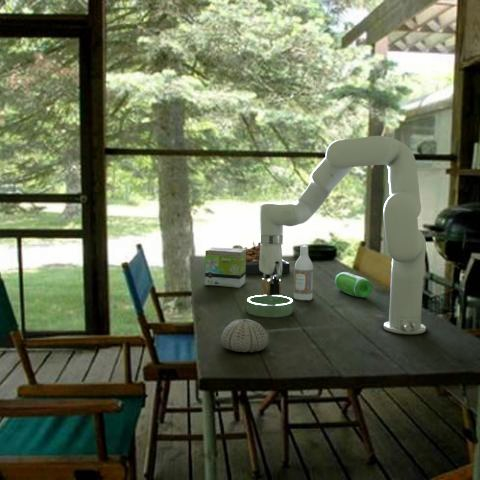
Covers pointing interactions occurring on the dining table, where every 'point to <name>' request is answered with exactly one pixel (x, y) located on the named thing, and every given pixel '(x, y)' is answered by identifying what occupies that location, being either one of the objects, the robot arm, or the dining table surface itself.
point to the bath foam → (303, 276)
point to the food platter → (257, 260)
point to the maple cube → (268, 286)
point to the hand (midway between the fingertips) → (271, 292)
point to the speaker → (353, 284)
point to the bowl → (270, 306)
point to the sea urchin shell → (244, 336)
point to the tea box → (225, 267)
